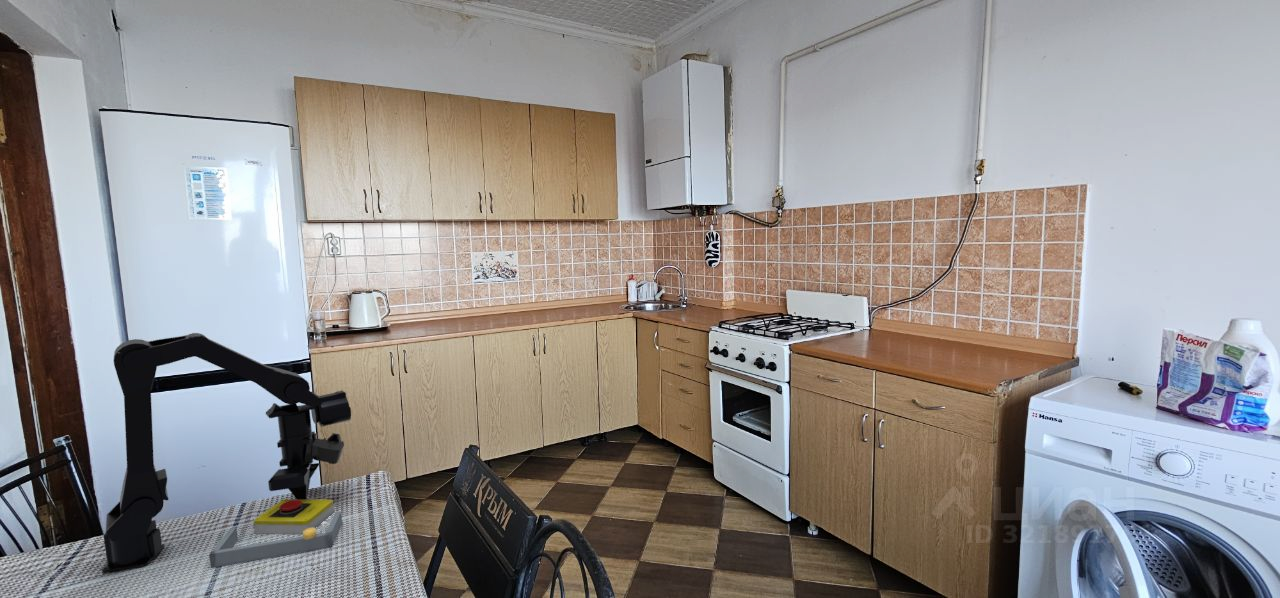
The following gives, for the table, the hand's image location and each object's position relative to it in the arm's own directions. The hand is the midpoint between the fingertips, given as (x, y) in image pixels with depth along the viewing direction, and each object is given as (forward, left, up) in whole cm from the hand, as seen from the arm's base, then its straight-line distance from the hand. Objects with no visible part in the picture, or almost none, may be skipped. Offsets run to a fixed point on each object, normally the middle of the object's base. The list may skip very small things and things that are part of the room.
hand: (303, 502), depth 117 cm
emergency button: (0, -7, -2) cm, 7 cm away
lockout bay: (0, -14, -1) cm, 14 cm away
